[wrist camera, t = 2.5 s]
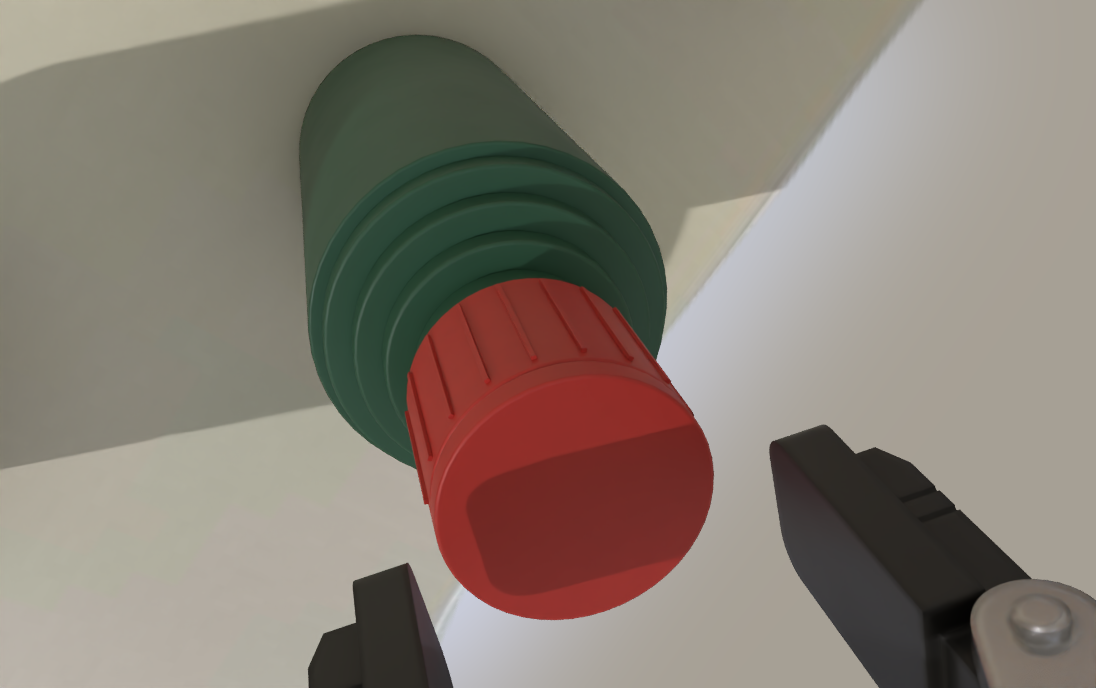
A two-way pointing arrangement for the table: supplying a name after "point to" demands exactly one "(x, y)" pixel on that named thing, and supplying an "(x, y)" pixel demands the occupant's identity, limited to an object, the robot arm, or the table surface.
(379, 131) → the bottle
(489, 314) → the cap
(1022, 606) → the robot arm
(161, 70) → the table surface
